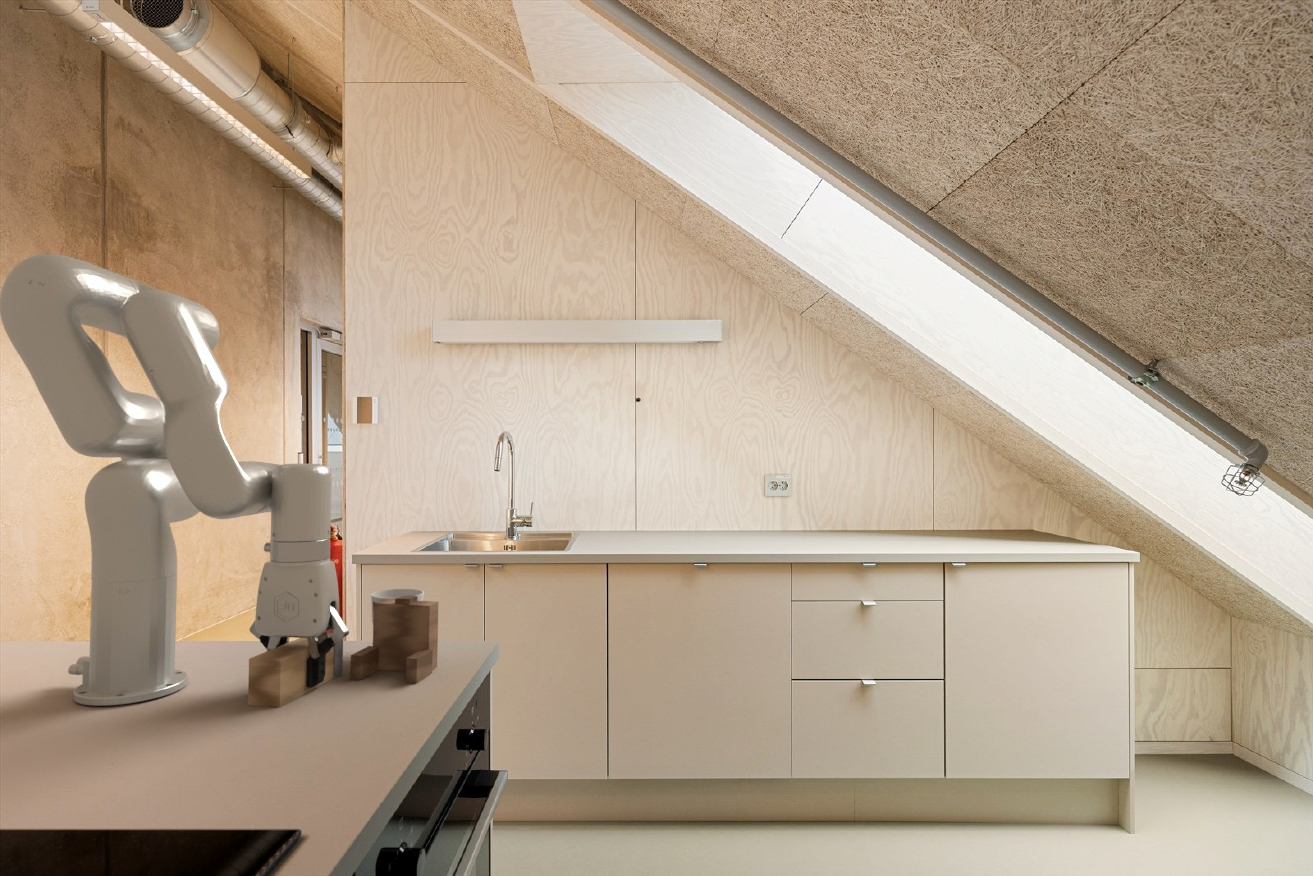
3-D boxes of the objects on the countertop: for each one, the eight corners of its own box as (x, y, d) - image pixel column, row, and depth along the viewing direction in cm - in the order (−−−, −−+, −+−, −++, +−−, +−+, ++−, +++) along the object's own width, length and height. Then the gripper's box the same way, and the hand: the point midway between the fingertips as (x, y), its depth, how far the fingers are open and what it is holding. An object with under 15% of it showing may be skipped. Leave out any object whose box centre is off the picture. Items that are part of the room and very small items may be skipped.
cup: (359, 660, 115) (361, 596, 115) (386, 646, 123) (388, 587, 123) (407, 663, 113) (408, 599, 113) (431, 649, 121) (432, 589, 121)
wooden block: (247, 705, 94) (247, 658, 94) (312, 672, 108) (313, 632, 108) (280, 707, 94) (281, 660, 94) (342, 674, 107) (343, 633, 108)
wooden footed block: (350, 679, 105) (351, 604, 105) (378, 663, 113) (380, 593, 113) (416, 683, 104) (418, 607, 104) (440, 667, 112) (442, 596, 112)
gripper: (226, 553, 99) (223, 688, 98) (341, 558, 96) (338, 696, 96) (263, 546, 106) (260, 672, 106) (371, 550, 104) (368, 678, 103)
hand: (298, 682), depth 101 cm, fingers closed on wooden block, 4 cm apart
